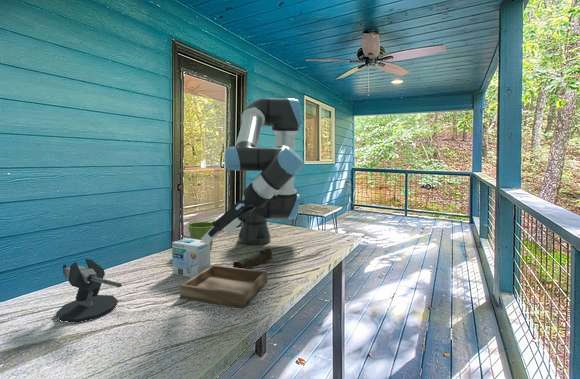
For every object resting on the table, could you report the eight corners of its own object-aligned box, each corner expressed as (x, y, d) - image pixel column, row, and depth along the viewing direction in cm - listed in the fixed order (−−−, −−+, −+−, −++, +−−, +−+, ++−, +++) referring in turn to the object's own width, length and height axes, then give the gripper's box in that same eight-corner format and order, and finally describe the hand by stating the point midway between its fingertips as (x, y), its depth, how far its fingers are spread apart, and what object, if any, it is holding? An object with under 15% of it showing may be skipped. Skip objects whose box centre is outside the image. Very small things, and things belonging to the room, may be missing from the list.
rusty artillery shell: (240, 274, 98) (240, 261, 98) (232, 271, 100) (232, 258, 100) (277, 260, 113) (277, 248, 113) (269, 258, 115) (269, 246, 115)
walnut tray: (212, 275, 97) (212, 264, 96) (267, 282, 91) (267, 271, 91) (179, 297, 80) (179, 285, 80) (244, 308, 75) (244, 295, 75)
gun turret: (99, 335, 63) (96, 277, 61) (42, 315, 70) (38, 263, 69) (148, 308, 74) (146, 258, 73) (94, 294, 82) (92, 248, 81)
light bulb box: (171, 274, 97) (171, 242, 96) (186, 267, 103) (185, 237, 102) (198, 279, 93) (197, 246, 92) (211, 272, 99) (211, 240, 98)
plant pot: (222, 251, 122) (222, 224, 121) (195, 257, 114) (195, 229, 112) (208, 245, 130) (207, 220, 129) (182, 250, 122) (181, 224, 121)
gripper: (252, 206, 76) (201, 257, 81) (281, 195, 100) (240, 235, 105) (233, 184, 77) (184, 236, 82) (266, 179, 101) (227, 220, 106)
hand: (216, 236), depth 94 cm, fingers open, 13 cm apart
